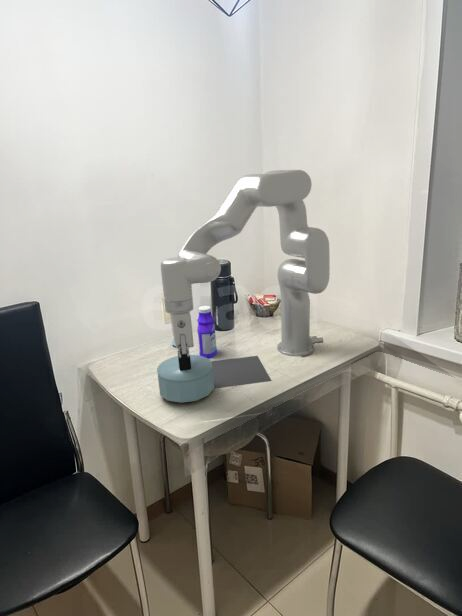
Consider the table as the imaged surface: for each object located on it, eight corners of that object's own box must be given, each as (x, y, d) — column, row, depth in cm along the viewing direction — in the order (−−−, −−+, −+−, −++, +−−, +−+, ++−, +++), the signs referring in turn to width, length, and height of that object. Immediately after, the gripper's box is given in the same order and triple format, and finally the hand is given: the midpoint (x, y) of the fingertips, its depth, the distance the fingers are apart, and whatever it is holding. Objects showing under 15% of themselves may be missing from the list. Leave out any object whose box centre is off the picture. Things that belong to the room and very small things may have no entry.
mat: (257, 356, 139) (257, 355, 139) (271, 381, 122) (271, 380, 122) (204, 363, 136) (204, 362, 136) (211, 390, 119) (211, 388, 119)
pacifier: (177, 353, 146) (191, 347, 149) (175, 337, 143) (189, 331, 147) (166, 347, 151) (180, 342, 154) (164, 331, 149) (178, 326, 152)
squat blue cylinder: (210, 372, 126) (207, 338, 122) (217, 397, 112) (214, 360, 108) (159, 378, 124) (155, 344, 120) (160, 405, 109) (155, 367, 106)
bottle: (213, 360, 138) (210, 311, 133) (197, 359, 139) (193, 310, 134) (218, 351, 145) (215, 304, 139) (203, 350, 146) (199, 303, 140)
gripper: (195, 312, 103) (201, 378, 108) (190, 294, 118) (195, 353, 124) (165, 315, 101) (172, 382, 107) (164, 297, 117) (170, 356, 123)
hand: (184, 365), depth 115 cm, fingers closed on squat blue cylinder, 3 cm apart
